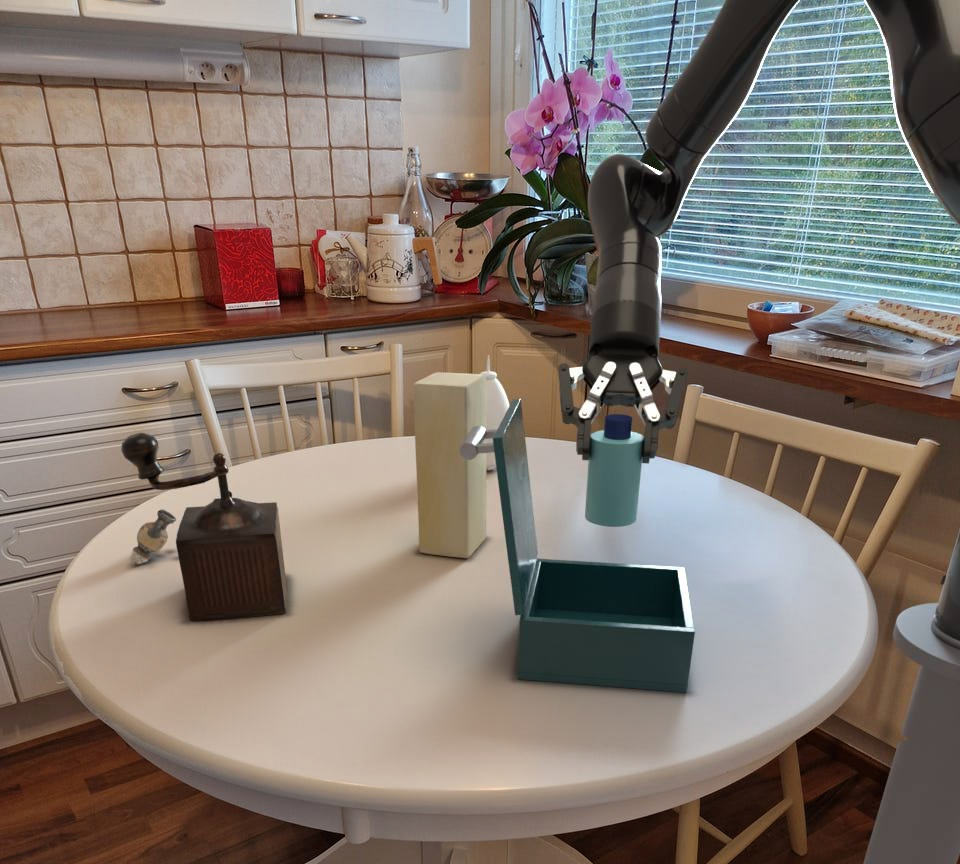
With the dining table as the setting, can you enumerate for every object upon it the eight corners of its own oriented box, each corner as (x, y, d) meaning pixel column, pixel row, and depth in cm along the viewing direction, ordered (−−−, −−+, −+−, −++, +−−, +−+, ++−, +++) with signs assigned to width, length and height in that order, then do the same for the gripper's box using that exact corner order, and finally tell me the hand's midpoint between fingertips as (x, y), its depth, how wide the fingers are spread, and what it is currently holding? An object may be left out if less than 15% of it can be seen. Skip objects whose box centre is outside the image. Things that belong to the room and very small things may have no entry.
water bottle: (635, 510, 95) (645, 411, 90) (636, 528, 90) (646, 425, 85) (585, 507, 96) (592, 409, 90) (583, 525, 91) (590, 422, 85)
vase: (185, 548, 108) (177, 503, 105) (178, 565, 103) (170, 518, 100) (140, 551, 107) (131, 505, 104) (132, 568, 102) (122, 521, 100)
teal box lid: (520, 398, 82) (474, 403, 83) (502, 437, 69) (447, 442, 70) (537, 553, 89) (495, 556, 90) (523, 614, 76) (474, 617, 77)
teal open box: (677, 621, 90) (684, 567, 87) (686, 692, 78) (695, 632, 75) (532, 611, 92) (534, 558, 89) (517, 679, 80) (519, 619, 77)
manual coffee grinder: (288, 574, 101) (270, 422, 92) (287, 614, 91) (268, 450, 83) (151, 584, 98) (121, 429, 90) (136, 627, 89) (101, 458, 80)
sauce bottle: (490, 459, 144) (491, 348, 135) (521, 470, 138) (524, 355, 130) (454, 467, 140) (452, 354, 131) (483, 478, 134) (484, 361, 126)
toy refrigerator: (434, 531, 114) (431, 370, 104) (487, 537, 112) (488, 374, 102) (412, 552, 107) (406, 382, 97) (468, 560, 105) (467, 387, 95)
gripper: (559, 295, 90) (545, 436, 85) (697, 298, 88) (691, 443, 83) (559, 339, 97) (547, 472, 92) (688, 343, 95) (681, 479, 90)
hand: (616, 457), depth 88 cm, fingers closed on water bottle, 5 cm apart
